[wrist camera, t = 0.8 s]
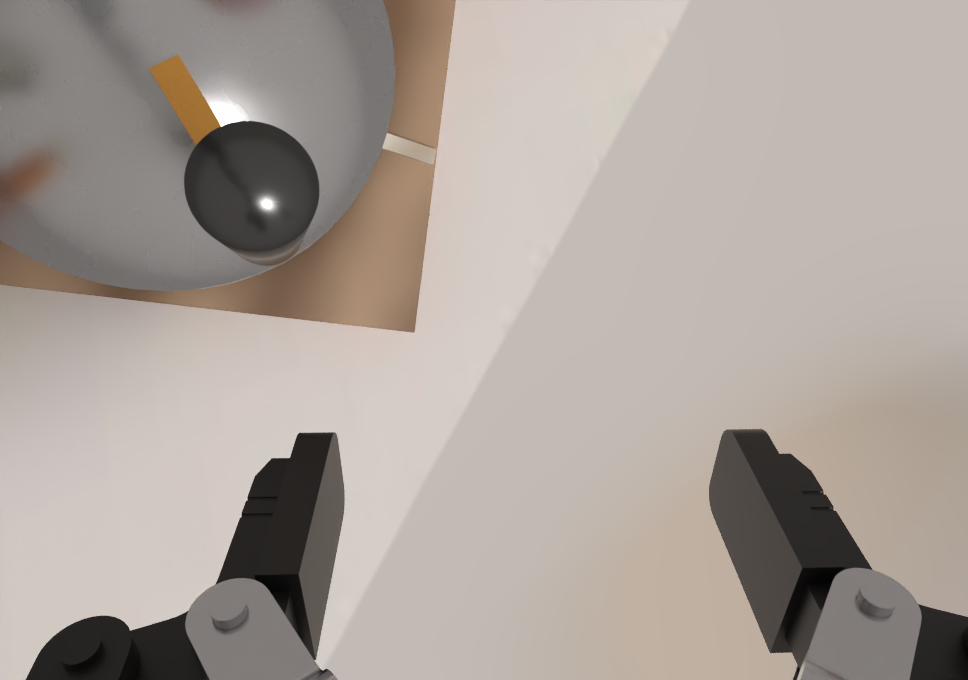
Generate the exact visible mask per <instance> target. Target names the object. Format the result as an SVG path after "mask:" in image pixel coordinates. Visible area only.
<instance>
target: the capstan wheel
mask: <svg viewBox="0 0 968 680" xmlns="http://www.w3.org/2000/svg"><path fill="white" fill-rule="evenodd" d="M394 85H395V63H394V49H393V40H392V35H391V30H390V25H389V20H388V15H387V11H386V8H385V5H384V2H383V0H0V241H2V242H4V243H5V244H7V245H9V246H11V247H12V248H14V249H16V250H17V251H19V252H21V253H23V254H24V255H26V256H28V257H29V258H31V259H34V260H36V261H38V262H40V263H43V264H45V265H47V266H50V267H52V268H54V269H57V270H59V271H61V272H63V273H66V274H70V275H73V276H76V277H80V278H83V279H86V280H89V281H93V282H96V283H101V284H106V285H112V286H117V287H123V288H128V289H138V290H155V291H178V290H195V289H206V288H211V287H217V286H222V285H227V284H233V283H236V282H239V281H242V280H245V279H248V278H251V277H255V276H258V275H260V274H263V273H265V272H267V271H269V270H271V269H273V268H275V267H278V266H280V265H282V264H284V263H286V262H287V261H289V260H291V259H292V258H294V257H295V256H297V255H298V254H300V253H301V252H303V251H304V250H306V249H308V248H309V247H310V246H311V245H313V244H314V243H315V242H316V241H317V240H318V239H320V238H321V237H322V236H323V235H324V234H325V233H327V232H328V231H329V230H330V229H331V228H332V227H333V225H334V224H335V223H336V222H337V221H338V220H339V219H340V218H341V216H342V215H343V214H344V213H345V212H346V211H347V210H348V209H349V207H350V206H351V205H352V203H353V202H354V200H355V199H356V198H357V196H358V195H359V193H360V192H361V190H362V189H363V187H364V186H365V184H366V183H367V181H368V179H369V177H370V175H371V173H372V171H373V169H374V167H375V164H376V162H377V160H378V158H379V156H380V153H381V150H382V147H383V144H384V141H385V138H386V135H387V132H388V128H389V123H390V118H391V113H392V107H393V102H394Z"/></svg>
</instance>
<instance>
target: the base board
mask: <svg viewBox="0 0 968 680" xmlns="http://www.w3.org/2000/svg"><path fill="white" fill-rule="evenodd" d="M455 1H456V0H383V2H384V5H385V8H386V11H387V15H388V20H389V25H390V30H391V35H392V40H393V49H394V63H395V85H394V102H393V107H392V113H391V118H390V123H389V128H388V132H387V135H386V138H385V141H384V144H383V147H382V150H381V153H380V156H379V158H378V160H377V162H376V164H375V167H374V169H373V171H372V173H371V175H370V177H369V179H368V181H367V183H366V184H365V186H364V187H363V189H362V190H361V192H360V193H359V195H358V196H357V198H356V199H355V200H354V202H353V203H352V205H351V206H350V207H349V209H348V210H347V211H346V212H345V213H344V214H343V215H342V216H341V218H340V219H339V220H338V221H337V222H336V223H335V224H334V225H333V227H332V228H331V229H330V230H329V231H328V232H327V233H325V234H324V235H323V236H322V237H321V238H320V239H318V240H317V241H316V242H315V243H314V244H313V245H311V246H310V247H309V248H308V249H306V250H304V251H303V252H301V253H300V254H298V255H297V256H295V257H294V258H292V259H291V260H289V261H287V262H286V263H284V264H282V265H280V266H278V267H275V268H273V269H271V270H269V271H267V272H265V273H263V274H260V275H258V276H255V277H251V278H248V279H245V280H242V281H239V282H236V283H233V284H227V285H222V286H217V287H211V288H206V289H195V290H178V291H155V290H138V289H128V288H123V287H117V286H112V285H106V284H101V283H96V282H93V281H89V280H86V279H83V278H80V277H76V276H73V275H70V274H66V273H63V272H61V271H59V270H57V269H54V268H52V267H50V266H47V265H45V264H43V263H40V262H38V261H36V260H34V259H31V258H29V257H28V256H26V255H24V254H23V253H21V252H19V251H17V250H16V249H14V248H12V247H11V246H9V245H7V244H5V243H4V242H2V241H0V285H9V286H18V287H26V288H35V289H44V290H52V291H61V292H69V293H78V294H87V295H95V296H104V297H112V298H121V299H130V300H138V301H147V302H156V303H164V304H173V305H181V306H190V307H199V308H207V309H216V310H225V311H233V312H242V313H250V314H259V315H268V316H276V317H285V318H293V319H302V320H311V321H319V322H328V323H337V324H345V325H354V326H362V327H371V328H380V329H388V330H397V331H405V332H414V331H415V323H416V315H417V307H418V299H419V291H420V283H421V275H422V267H423V259H424V251H425V243H426V235H427V227H428V219H429V211H430V203H431V195H432V186H433V178H434V170H435V162H436V154H437V146H438V138H439V130H440V122H441V114H442V106H443V98H444V90H445V82H446V74H447V66H448V58H449V50H450V42H451V34H452V26H453V18H454V9H455Z"/></svg>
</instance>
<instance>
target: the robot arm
mask: <svg viewBox="0 0 968 680" xmlns="http://www.w3.org/2000/svg"><path fill="white" fill-rule="evenodd" d="M709 500H710V506H711V511H712V514H713V516H714V519H715V521H716V524H717V526H718V528H719V531H720V533H721V536H722V538H723V540H724V543H725V545H726V548H727V550H728V552H729V555H730V557H731V560H732V562H733V565H734V567H735V569H736V572H737V574H738V577H739V579H740V581H741V584H742V586H743V589H744V591H745V594H746V596H747V598H748V600H749V603H750V606H751V608H752V610H753V613H754V615H755V618H756V620H757V623H758V625H759V627H760V630H761V632H762V634H763V637H764V639H765V642H766V644H767V647H768V649H769V651H770V653H783V652H792V653H793V656H794V658H795V660H796V662H797V667H796V670H795V672H794V675H793V677H792V680H968V617H965V616H961V615H957V614H953V613H949V612H945V611H941V610H937V609H933V608H929V607H926V606H922V605H919V604H918V603H917V602H916V600H915V599H914V597H913V596H912V595H911V593H910V592H909V591H908V590H907V589H906V588H904V587H903V586H902V585H901V584H899V583H898V582H897V581H895V580H894V579H892V578H890V577H888V576H886V575H884V574H882V573H880V572H877V571H874V570H872V568H871V567H870V565H869V563H868V562H867V560H866V559H865V557H864V555H863V554H862V552H861V551H860V549H859V547H858V546H857V544H856V542H855V541H854V539H853V538H852V536H851V534H850V533H849V531H848V530H847V528H846V526H845V525H844V523H843V522H842V520H841V518H840V517H839V515H838V513H837V512H836V511H834V510H833V505H832V504H831V502H830V501H829V499H828V497H827V496H826V495H824V494H823V489H822V488H821V486H820V484H819V483H818V481H817V480H816V478H815V476H814V475H813V473H812V472H811V470H809V469H808V468H807V467H806V466H805V465H803V464H802V463H801V462H800V461H798V460H797V459H796V458H795V457H794V456H793V455H791V454H779V453H778V451H777V449H776V448H775V446H774V444H773V442H772V441H771V439H770V437H769V435H768V434H767V433H766V432H765V431H764V430H762V429H749V430H748V429H744V430H743V429H741V430H726V431H724V433H723V435H722V437H721V441H720V445H719V449H718V453H717V457H716V461H715V465H714V469H713V473H712V477H711V481H710V486H709ZM343 514H344V483H343V475H342V468H341V460H340V453H339V445H338V438H337V435H336V433H299V434H298V435H297V438H296V441H295V444H294V447H293V450H292V454H291V457H290V458H272V459H271V460H270V461H269V462H268V463H267V464H266V465H265V466H264V467H263V468H262V470H261V471H260V472H259V473H258V474H257V475H256V476H255V478H254V481H253V483H252V486H251V489H250V492H249V495H248V501H246V503H245V506H244V509H243V511H242V517H241V518H240V520H239V522H238V525H237V528H236V531H235V534H234V536H233V539H232V542H231V545H230V547H229V550H228V553H227V556H226V559H225V561H224V564H223V567H222V570H221V573H220V575H219V578H218V580H217V583H216V585H214V586H212V587H210V588H209V589H207V590H206V591H205V592H203V593H202V594H201V595H200V596H199V597H198V598H197V599H196V600H195V601H194V603H193V604H192V605H191V607H190V609H189V611H187V612H186V613H184V614H182V615H179V616H177V617H175V618H172V619H169V620H166V621H162V622H159V623H155V624H152V625H149V626H145V627H142V628H138V629H135V630H132V631H130V630H129V627H128V626H127V625H126V624H125V622H123V621H122V620H120V619H118V618H115V617H111V616H96V617H90V618H86V619H83V620H80V621H78V622H75V623H73V624H72V625H70V626H68V627H66V628H65V629H63V630H61V631H60V632H59V633H57V634H56V635H55V636H54V637H53V638H52V639H51V640H50V641H49V642H48V643H47V644H46V645H45V646H44V647H43V649H42V650H41V651H40V653H39V655H38V656H37V658H36V660H35V662H34V664H33V666H32V668H31V670H30V672H29V674H28V676H27V678H26V680H337V678H336V677H335V676H334V675H333V674H332V672H331V671H329V670H328V669H325V670H324V671H322V670H321V669H320V668H319V667H318V665H317V664H316V662H315V661H314V660H316V656H317V651H318V646H319V640H320V635H321V630H322V625H323V620H324V614H325V609H326V604H327V599H328V593H329V588H330V583H331V578H332V573H333V567H334V562H335V557H336V552H337V546H338V541H339V536H340V531H341V526H342V520H343Z"/></svg>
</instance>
